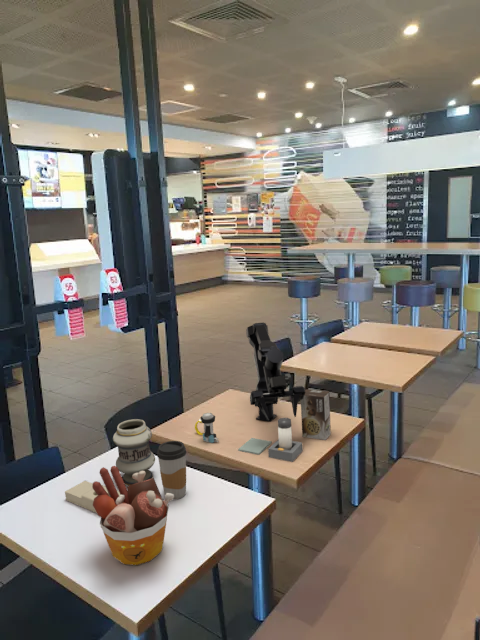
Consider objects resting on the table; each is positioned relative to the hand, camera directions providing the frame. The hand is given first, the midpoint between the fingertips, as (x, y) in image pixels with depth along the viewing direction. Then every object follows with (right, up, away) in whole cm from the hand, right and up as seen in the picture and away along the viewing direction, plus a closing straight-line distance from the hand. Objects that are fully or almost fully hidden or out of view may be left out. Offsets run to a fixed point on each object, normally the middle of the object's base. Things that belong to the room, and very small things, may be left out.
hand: (282, 418), depth 169 cm
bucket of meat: (-39, -23, -47) cm, 65 cm away
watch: (-28, -10, +19) cm, 35 cm away
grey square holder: (+1, -12, -1) cm, 12 cm away
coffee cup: (-33, -18, -22) cm, 44 cm away
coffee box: (+13, -9, +12) cm, 20 cm away
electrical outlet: (-55, -20, -24) cm, 64 cm away
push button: (-25, -11, +12) cm, 30 cm away
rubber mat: (-9, -11, +6) cm, 15 cm away
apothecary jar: (-46, -17, -12) cm, 51 cm away
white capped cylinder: (+1, -12, -1) cm, 12 cm away
